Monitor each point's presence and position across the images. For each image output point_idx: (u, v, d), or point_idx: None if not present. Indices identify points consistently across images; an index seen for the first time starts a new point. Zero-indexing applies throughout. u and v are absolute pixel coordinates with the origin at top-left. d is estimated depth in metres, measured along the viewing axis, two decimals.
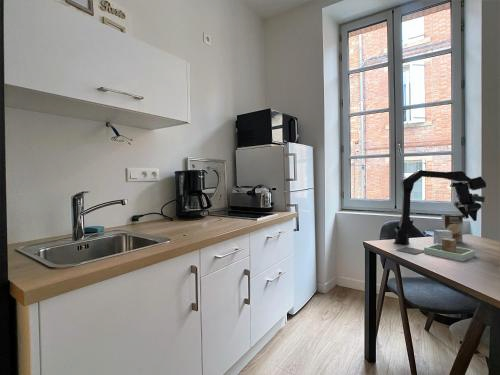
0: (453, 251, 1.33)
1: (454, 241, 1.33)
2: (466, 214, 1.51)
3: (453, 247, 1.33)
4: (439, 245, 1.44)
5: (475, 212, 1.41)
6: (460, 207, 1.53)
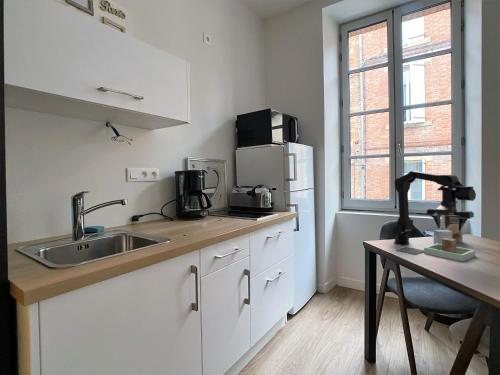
0: (453, 251, 1.33)
1: (454, 241, 1.33)
2: None
3: (453, 247, 1.33)
4: (439, 245, 1.44)
5: None
6: None
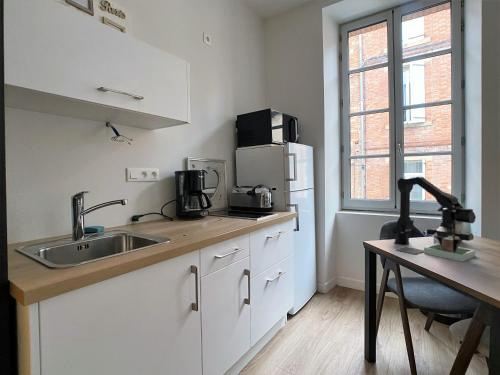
0: (453, 251, 1.33)
1: None
2: None
3: (453, 246, 1.33)
4: (439, 245, 1.44)
5: None
6: None
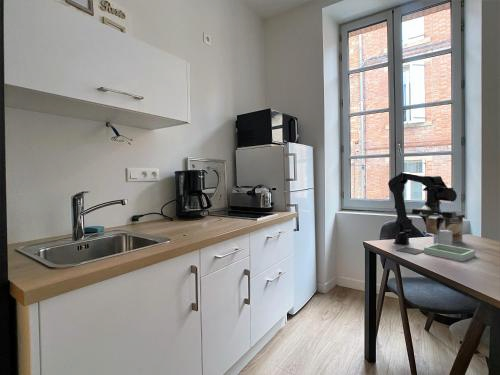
0: None
1: None
2: None
3: None
4: (439, 245, 1.44)
5: None
6: None
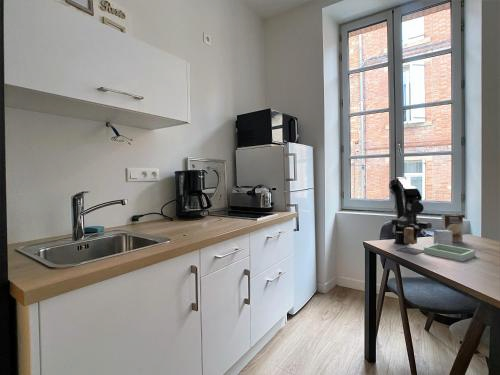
0: None
1: None
2: None
3: None
4: (439, 245, 1.44)
5: None
6: None
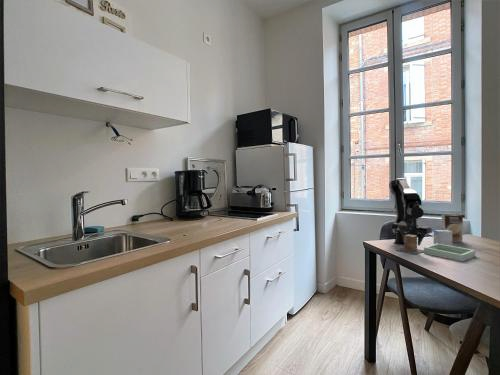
0: (414, 247, 1.41)
1: (415, 237, 1.41)
2: None
3: (414, 242, 1.41)
4: (439, 245, 1.44)
5: None
6: None
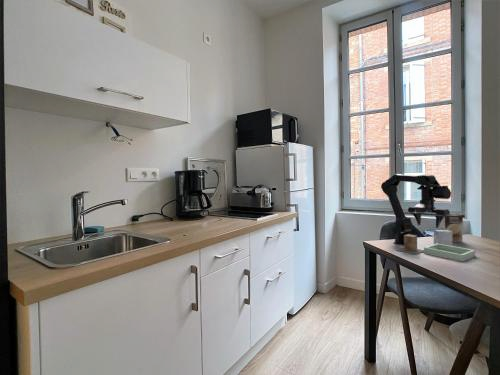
0: (414, 247, 1.41)
1: (415, 237, 1.41)
2: None
3: (414, 242, 1.41)
4: (439, 245, 1.44)
5: None
6: None
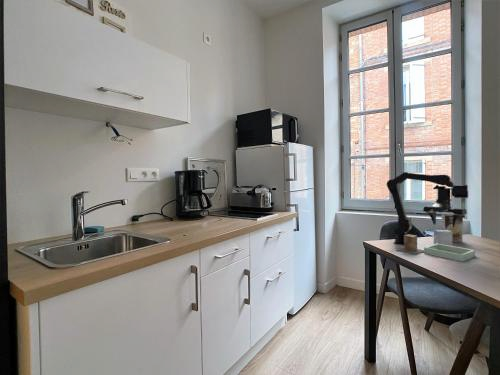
0: (414, 247, 1.41)
1: (415, 237, 1.41)
2: None
3: (414, 242, 1.41)
4: (439, 245, 1.44)
5: None
6: None
